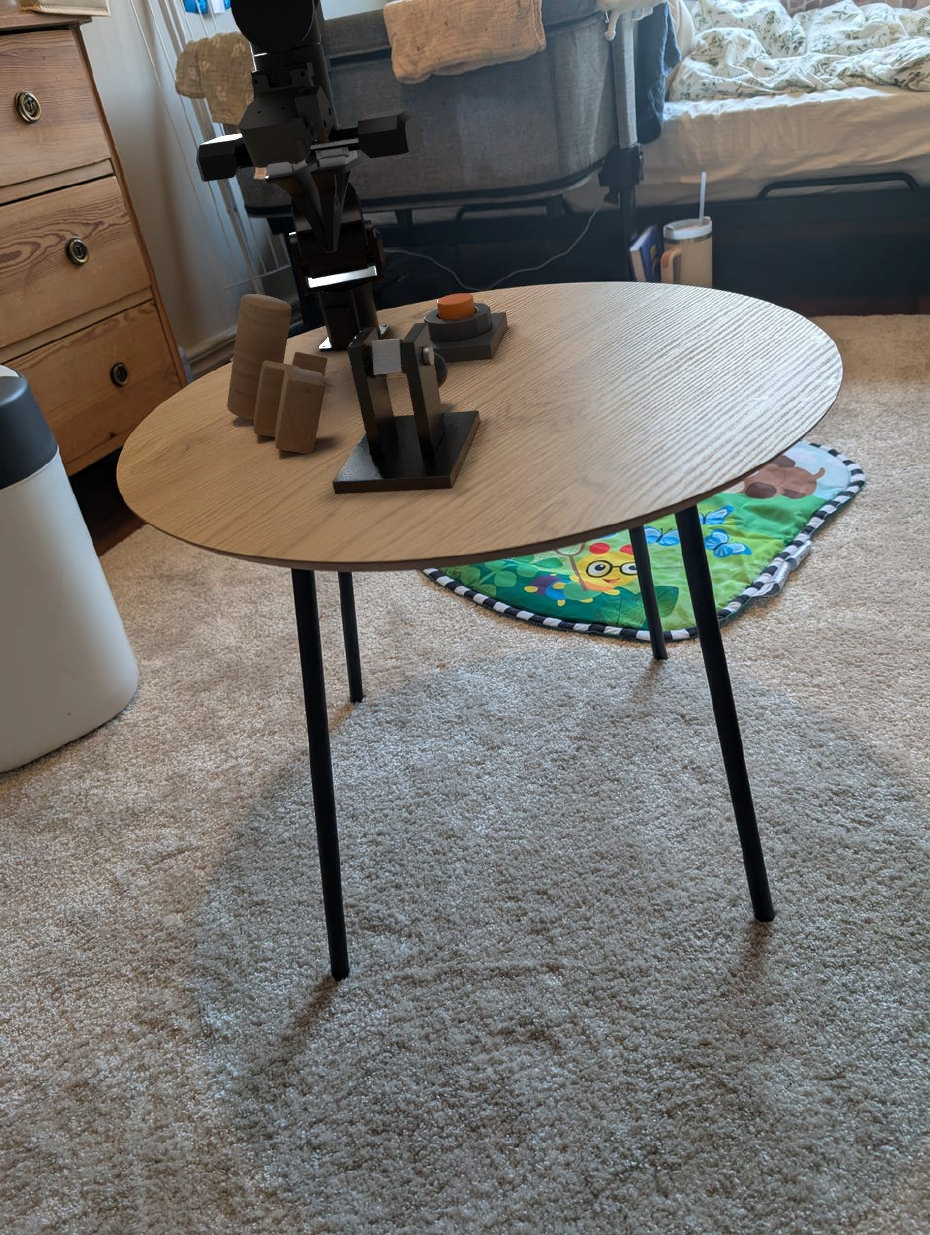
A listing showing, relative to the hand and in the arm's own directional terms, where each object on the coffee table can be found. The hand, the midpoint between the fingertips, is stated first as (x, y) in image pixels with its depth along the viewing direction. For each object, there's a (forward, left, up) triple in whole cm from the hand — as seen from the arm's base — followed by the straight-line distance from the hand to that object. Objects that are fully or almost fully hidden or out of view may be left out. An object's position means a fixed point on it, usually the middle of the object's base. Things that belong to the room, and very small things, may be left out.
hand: (331, 251), depth 81 cm
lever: (+15, +10, -8) cm, 20 cm away
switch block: (-7, +9, -12) cm, 17 cm away
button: (-7, +9, -9) cm, 14 cm away
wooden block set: (+10, -4, -12) cm, 16 cm away
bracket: (+19, +10, -12) cm, 25 cm away
